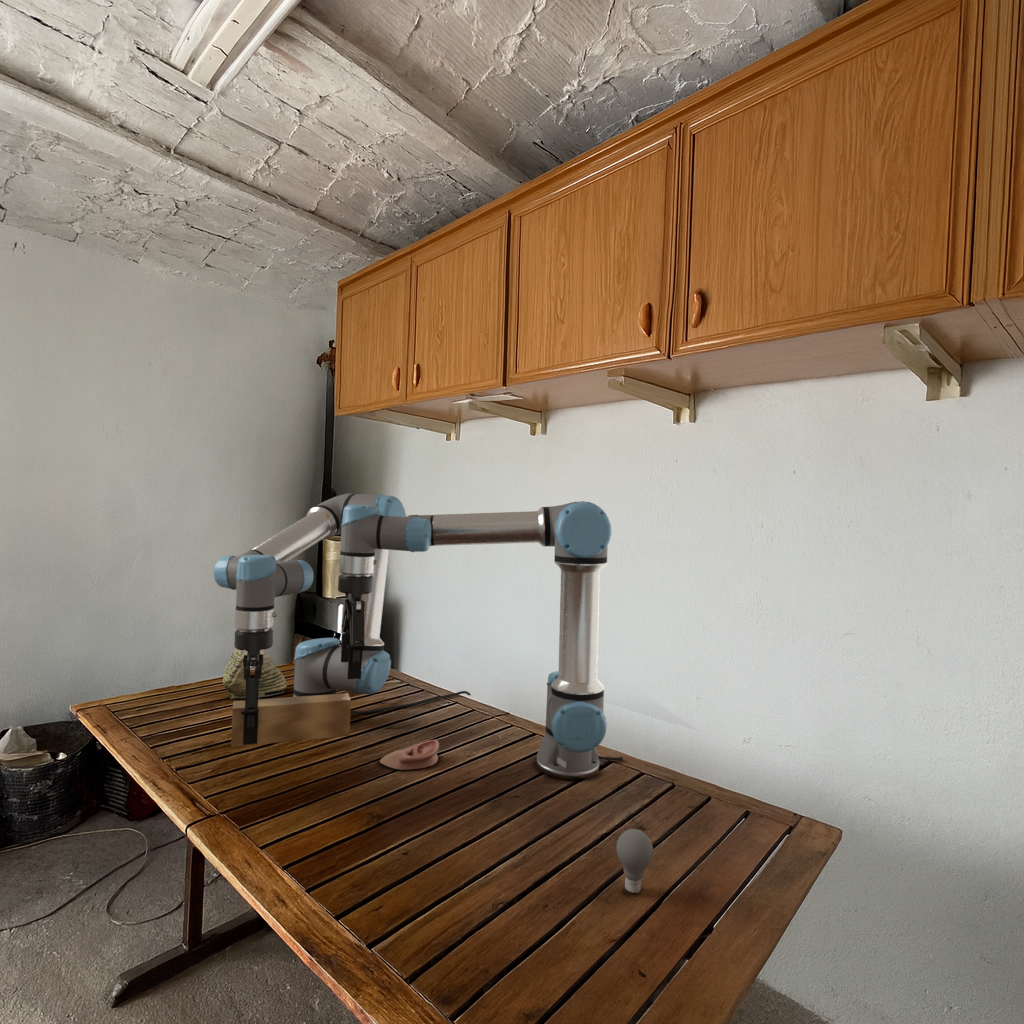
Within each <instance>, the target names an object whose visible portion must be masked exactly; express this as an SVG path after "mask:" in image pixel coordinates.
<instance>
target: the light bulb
mask: <svg viewBox="0 0 1024 1024" xmlns="http://www.w3.org/2000/svg"><path fill="white" fill-rule="evenodd" d="M615 849H616V854H617V857H618V859H619V861H620V863H621V865H622V867H623V873H624V874H623V875H624V876H625V878H624V888H625V890H627V891H628V892H630V893H634V894H635V893H639V892H640V891H641V889H642V887H641V886H642V879H643V877H644V875H645V871H646V868H647V867H648V866H649V864H650V863H651V861H652V859H653V855H654V847H653V843H652V841H651V838H649V836H648V835H647V834H646V833H645V832H643V831H642V830H641V829H636V828H629V829H627V830H625V831H623V832H622V833H621V834H620V835H619V837H618V839H617V841H616V847H615Z"/></svg>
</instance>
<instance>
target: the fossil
mask: <svg viewBox="0 0 1024 1024" xmlns="http://www.w3.org/2000/svg"><path fill="white" fill-rule="evenodd" d="M247 652H248V651H246V650H243V651H242V650H238V649H236V648H235V650H233V651H232V653H231V656H230V657H229V659H228V660H227V663H226V666H225V668H224V671H223V675H222V676H223V677H222V685H223V687H224V688H225V690H226V691H228V693H229V698H230V699H245V694H246V680H245V679H244V666H243V656H244V655H247ZM260 654H263V665H262V675H261V678H260V679H259V689H258V692H259V695H258V697H262V698H264V697H271V696H275V695H281V694H284V693H285V691H286V689H287V687H288V686H287V680H286V678H285V676H284V674H283V673H282V672H281V669H279V668H278V667H277V665H276V663H275V662H274V660H273V659H272V658H271V657H270V656H269V655H268V654H267V653H266V652H265V650H263V649H262V650H260Z"/></svg>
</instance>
